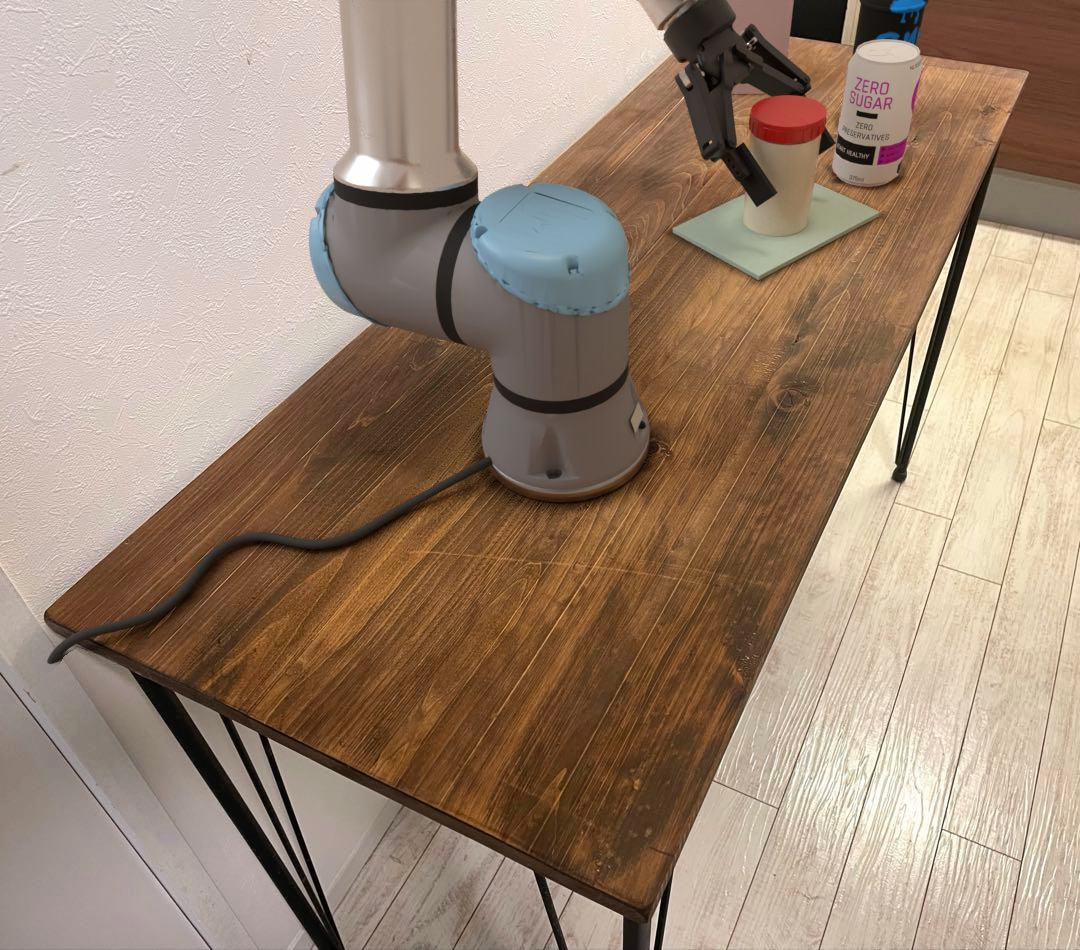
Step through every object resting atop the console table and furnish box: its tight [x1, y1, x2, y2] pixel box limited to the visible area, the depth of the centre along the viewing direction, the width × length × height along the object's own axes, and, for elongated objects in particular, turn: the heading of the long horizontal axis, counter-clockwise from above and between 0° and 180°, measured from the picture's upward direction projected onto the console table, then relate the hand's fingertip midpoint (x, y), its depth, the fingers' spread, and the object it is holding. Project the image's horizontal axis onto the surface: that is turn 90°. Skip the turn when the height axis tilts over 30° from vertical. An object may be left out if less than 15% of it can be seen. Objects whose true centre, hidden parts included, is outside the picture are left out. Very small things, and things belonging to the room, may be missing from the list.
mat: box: [672, 182, 881, 281], centre depth 108 cm, size 20×14×1 cm
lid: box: [748, 95, 828, 144], centre depth 100 cm, size 8×8×2 cm
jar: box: [743, 132, 822, 236], centre depth 104 cm, size 8×8×12 cm
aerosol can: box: [851, 0, 929, 58], centre depth 118 cm, size 8×8×20 cm
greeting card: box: [727, 0, 795, 95], centre depth 130 cm, size 11×7×15 cm, turn 46°
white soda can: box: [831, 39, 924, 188], centre depth 110 cm, size 8×8×15 cm
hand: (797, 174), depth 103 cm, fingers open, 13 cm apart
